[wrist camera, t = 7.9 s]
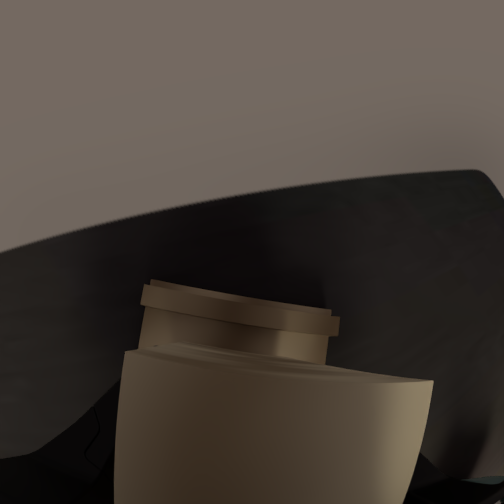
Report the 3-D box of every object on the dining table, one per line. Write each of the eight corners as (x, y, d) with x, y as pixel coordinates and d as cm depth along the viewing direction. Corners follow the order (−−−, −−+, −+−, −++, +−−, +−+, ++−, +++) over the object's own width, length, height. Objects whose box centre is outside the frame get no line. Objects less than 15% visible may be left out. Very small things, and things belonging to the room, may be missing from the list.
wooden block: (287, 357, 16) (433, 380, 5) (278, 413, 15) (397, 516, 4) (183, 341, 16) (125, 350, 4) (174, 399, 15) (114, 515, 3)
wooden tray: (325, 311, 20) (340, 307, 18) (305, 445, 17) (317, 457, 15) (153, 281, 19) (146, 274, 17) (132, 423, 16) (122, 433, 14)
